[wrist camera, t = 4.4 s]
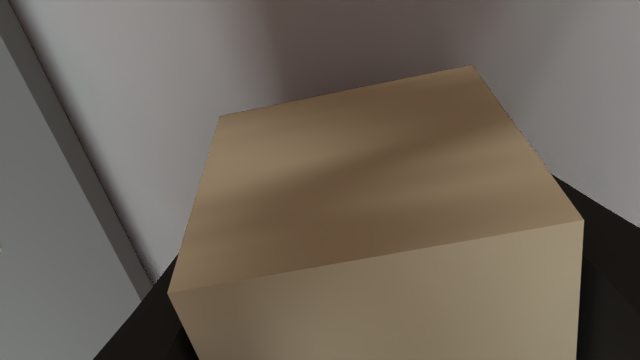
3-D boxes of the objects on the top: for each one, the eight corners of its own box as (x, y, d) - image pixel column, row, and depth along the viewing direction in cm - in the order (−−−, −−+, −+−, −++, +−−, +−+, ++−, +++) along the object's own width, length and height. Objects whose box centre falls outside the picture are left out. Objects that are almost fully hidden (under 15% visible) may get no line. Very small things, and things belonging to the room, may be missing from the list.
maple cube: (471, 64, 10) (584, 219, 6) (484, 261, 12) (569, 463, 8) (219, 116, 10) (167, 293, 6) (280, 295, 12) (270, 505, 8)
